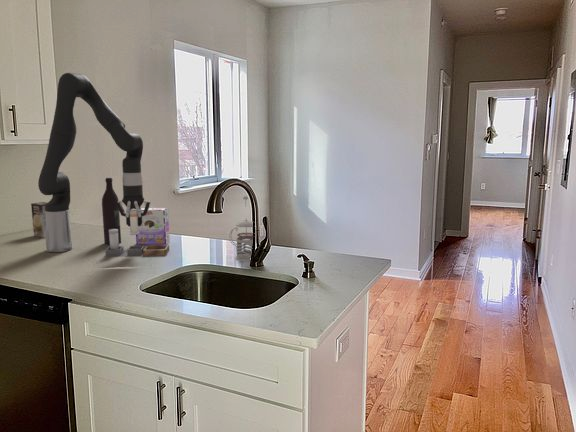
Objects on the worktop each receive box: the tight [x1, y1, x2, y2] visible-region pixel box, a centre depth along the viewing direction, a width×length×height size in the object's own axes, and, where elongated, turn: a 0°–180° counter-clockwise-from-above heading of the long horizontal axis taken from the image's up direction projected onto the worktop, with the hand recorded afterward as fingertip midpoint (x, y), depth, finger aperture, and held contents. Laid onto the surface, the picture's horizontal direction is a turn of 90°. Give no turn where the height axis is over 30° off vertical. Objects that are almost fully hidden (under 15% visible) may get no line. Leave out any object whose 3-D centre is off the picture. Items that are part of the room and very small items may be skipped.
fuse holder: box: [104, 245, 146, 258], centre depth 202 cm, size 14×9×3 cm, turn 96°
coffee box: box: [30, 201, 47, 239], centre depth 241 cm, size 9×6×16 cm
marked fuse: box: [129, 209, 140, 236], centre depth 201 cm, size 4×4×10 cm
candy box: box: [135, 207, 171, 245], centre depth 221 cm, size 14×6×16 cm, turn 84°
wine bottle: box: [101, 177, 122, 246], centre depth 220 cm, size 7×7×30 cm
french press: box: [229, 195, 254, 262], centre depth 196 cm, size 10×12×25 cm
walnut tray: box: [142, 244, 170, 257], centre depth 204 cm, size 9×9×3 cm
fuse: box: [109, 229, 120, 250], centre depth 201 cm, size 4×4×10 cm
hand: (134, 225), depth 201 cm, fingers closed on marked fuse, 3 cm apart
